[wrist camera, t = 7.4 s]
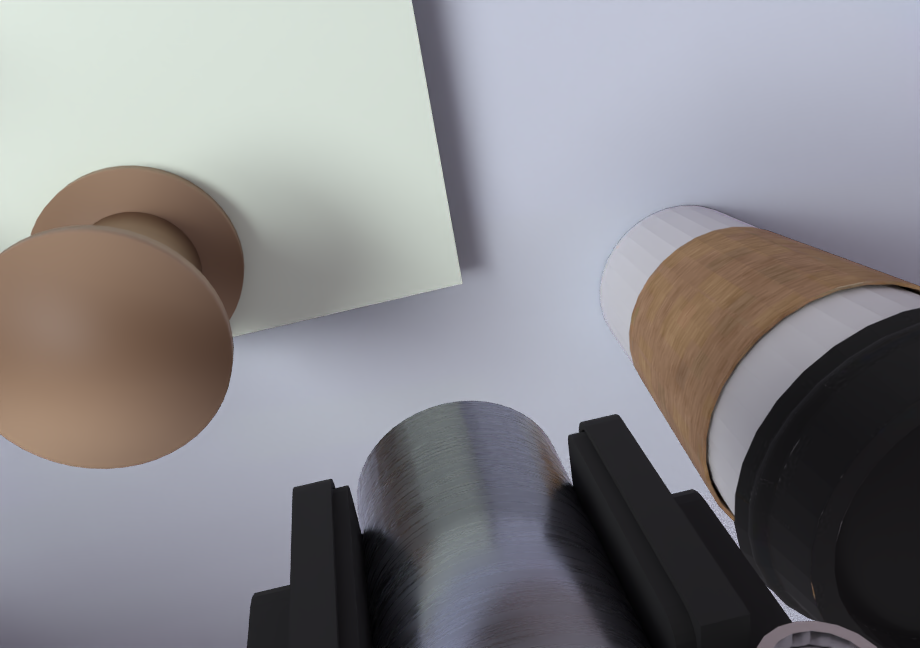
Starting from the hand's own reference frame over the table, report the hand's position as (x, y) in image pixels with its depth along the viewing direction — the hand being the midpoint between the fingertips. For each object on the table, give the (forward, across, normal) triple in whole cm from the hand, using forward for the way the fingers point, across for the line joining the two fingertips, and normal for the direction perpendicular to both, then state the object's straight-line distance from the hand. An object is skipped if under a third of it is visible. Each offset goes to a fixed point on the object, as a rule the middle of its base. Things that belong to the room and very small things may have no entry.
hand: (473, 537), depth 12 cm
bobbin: (+15, +7, 0) cm, 17 cm away
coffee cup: (+17, -10, +5) cm, 21 cm away
